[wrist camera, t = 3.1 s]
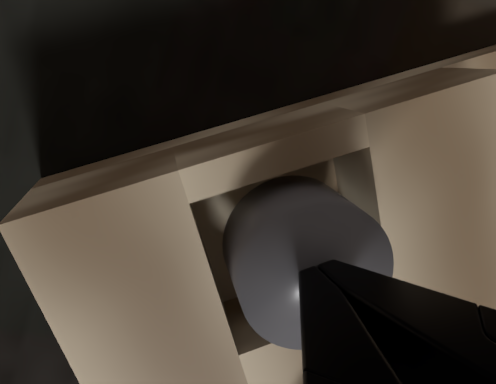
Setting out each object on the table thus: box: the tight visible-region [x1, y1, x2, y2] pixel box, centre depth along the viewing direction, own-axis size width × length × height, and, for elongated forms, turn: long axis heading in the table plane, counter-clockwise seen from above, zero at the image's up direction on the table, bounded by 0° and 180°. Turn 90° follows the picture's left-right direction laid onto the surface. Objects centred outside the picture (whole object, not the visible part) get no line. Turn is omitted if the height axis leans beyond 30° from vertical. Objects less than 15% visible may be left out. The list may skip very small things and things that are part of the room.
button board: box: [0, 45, 496, 384], centre depth 14 cm, size 15×19×4 cm
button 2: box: [222, 175, 394, 350], centre depth 10 cm, size 4×4×2 cm
